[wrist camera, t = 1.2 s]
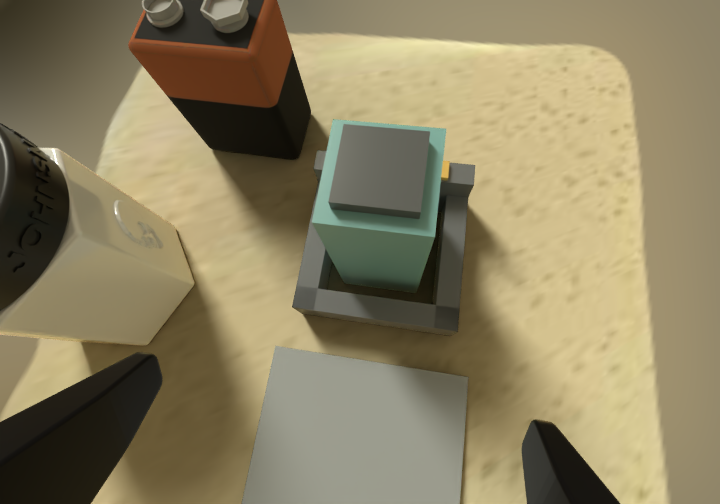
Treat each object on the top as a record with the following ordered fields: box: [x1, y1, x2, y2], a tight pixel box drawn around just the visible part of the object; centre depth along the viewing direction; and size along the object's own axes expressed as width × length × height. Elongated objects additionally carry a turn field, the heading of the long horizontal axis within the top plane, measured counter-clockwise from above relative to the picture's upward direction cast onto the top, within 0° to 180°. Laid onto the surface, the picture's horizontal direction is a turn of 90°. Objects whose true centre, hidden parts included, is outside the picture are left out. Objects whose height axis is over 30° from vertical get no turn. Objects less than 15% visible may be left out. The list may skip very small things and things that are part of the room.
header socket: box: [292, 150, 475, 336], centre depth 21 cm, size 9×9×4 cm
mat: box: [242, 346, 468, 504], centre depth 20 cm, size 9×11×1 cm
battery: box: [128, 0, 311, 159], centre depth 22 cm, size 4×7×10 cm, turn 79°
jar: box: [0, 123, 194, 346], centre depth 18 cm, size 9×8×12 cm
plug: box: [312, 119, 446, 293], centre depth 18 cm, size 4×4×11 cm
